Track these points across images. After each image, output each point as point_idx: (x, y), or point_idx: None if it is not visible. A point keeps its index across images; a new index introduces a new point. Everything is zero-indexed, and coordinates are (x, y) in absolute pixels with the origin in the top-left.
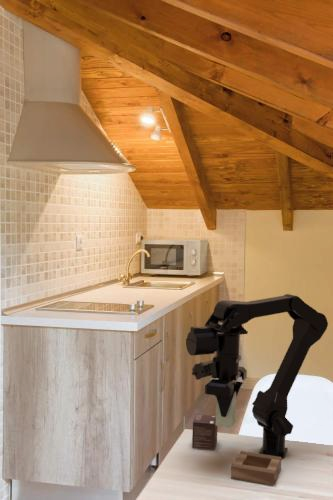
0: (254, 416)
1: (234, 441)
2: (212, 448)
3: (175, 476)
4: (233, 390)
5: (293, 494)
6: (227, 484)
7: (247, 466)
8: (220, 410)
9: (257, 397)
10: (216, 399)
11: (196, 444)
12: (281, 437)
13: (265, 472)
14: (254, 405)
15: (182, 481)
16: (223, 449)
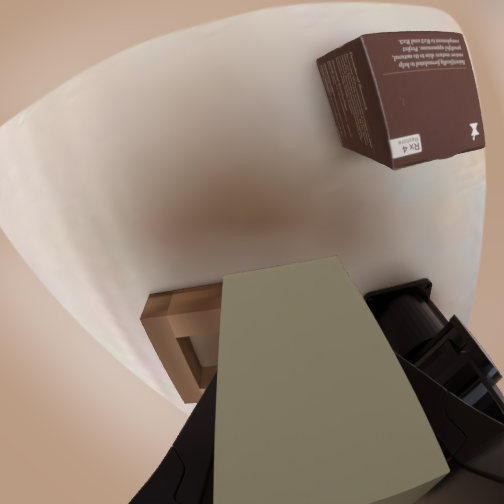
0: (445, 352)
1: (442, 185)
2: (342, 141)
3: (56, 147)
4: (423, 500)
5: (181, 406)
6: (115, 298)
7: (174, 353)
8: (199, 403)
9: (492, 413)
10: (215, 458)
11: (325, 75)
12: None
13: (177, 389)
14: (462, 394)
15: (45, 186)
16: (366, 175)
